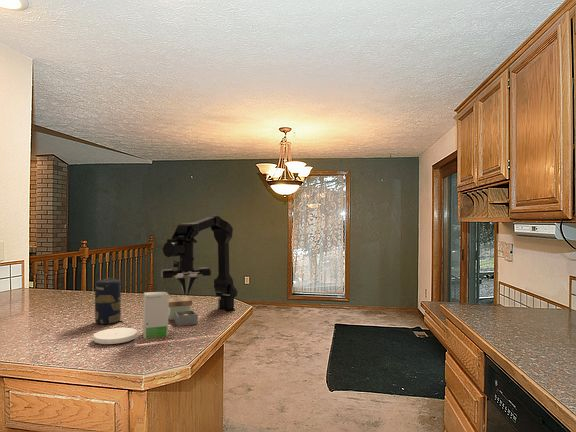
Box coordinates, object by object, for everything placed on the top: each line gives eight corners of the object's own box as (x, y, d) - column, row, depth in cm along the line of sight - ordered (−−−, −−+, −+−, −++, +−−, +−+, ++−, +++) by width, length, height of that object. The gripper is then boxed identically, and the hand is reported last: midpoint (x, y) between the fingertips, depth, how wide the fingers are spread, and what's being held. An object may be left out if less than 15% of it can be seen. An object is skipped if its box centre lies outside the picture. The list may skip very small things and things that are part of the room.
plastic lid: (122, 348, 131) (122, 340, 131) (84, 345, 133) (84, 338, 133) (144, 335, 145) (144, 328, 145) (109, 333, 147) (109, 326, 147)
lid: (187, 300, 175) (187, 296, 175) (192, 305, 166) (192, 300, 166) (165, 302, 171) (165, 298, 171) (168, 307, 162) (168, 302, 162)
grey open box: (193, 321, 164) (193, 310, 164) (197, 325, 157) (197, 314, 157) (174, 323, 161) (174, 311, 161) (177, 327, 154) (177, 316, 154)
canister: (125, 320, 164) (126, 276, 164) (108, 326, 155) (108, 280, 156) (107, 318, 168) (107, 275, 168) (89, 324, 159) (89, 278, 159)
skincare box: (143, 340, 138) (144, 295, 138) (142, 335, 144) (142, 292, 144) (169, 337, 141) (169, 293, 141) (166, 332, 147) (166, 290, 147)
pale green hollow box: (186, 315, 174) (186, 301, 174) (190, 319, 167) (190, 305, 167) (166, 317, 170) (166, 302, 171) (169, 321, 163) (170, 306, 163)
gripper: (204, 252, 170) (204, 289, 170) (159, 254, 162) (158, 292, 162) (211, 254, 160) (211, 293, 160) (163, 256, 152) (162, 297, 152)
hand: (186, 294), depth 159 cm, fingers closed
